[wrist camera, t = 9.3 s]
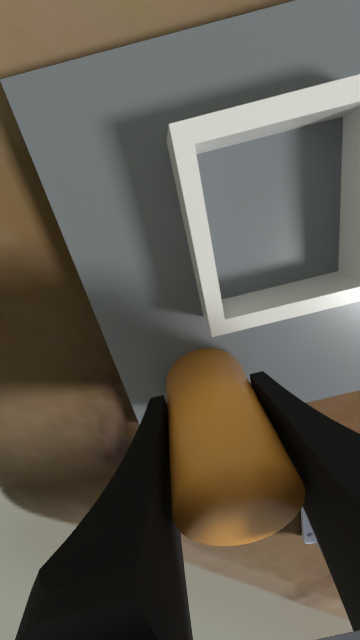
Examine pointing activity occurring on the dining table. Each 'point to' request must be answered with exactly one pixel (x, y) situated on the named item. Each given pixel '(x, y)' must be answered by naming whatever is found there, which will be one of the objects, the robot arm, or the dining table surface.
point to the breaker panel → (213, 193)
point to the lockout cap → (225, 455)
